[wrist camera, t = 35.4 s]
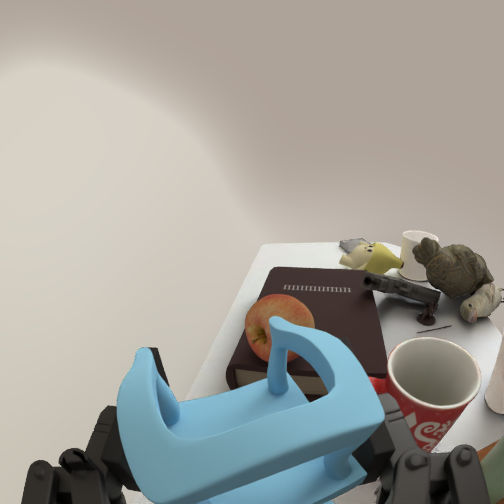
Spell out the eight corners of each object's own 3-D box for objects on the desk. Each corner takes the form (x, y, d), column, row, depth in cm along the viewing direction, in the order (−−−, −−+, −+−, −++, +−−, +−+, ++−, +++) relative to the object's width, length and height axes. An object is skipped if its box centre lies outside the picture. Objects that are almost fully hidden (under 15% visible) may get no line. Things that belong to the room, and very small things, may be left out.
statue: (466, 306, 56) (412, 308, 41) (452, 272, 61) (393, 258, 46) (502, 283, 48) (469, 274, 33) (486, 248, 53) (443, 221, 38)
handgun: (426, 311, 36) (357, 287, 44) (438, 306, 50) (389, 288, 58) (432, 292, 36) (363, 269, 44) (443, 292, 50) (393, 275, 58)
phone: (362, 242, 86) (362, 238, 85) (390, 262, 71) (391, 257, 70) (338, 245, 85) (338, 240, 84) (364, 266, 70) (364, 261, 69)
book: (268, 292, 61) (267, 266, 59) (363, 296, 56) (366, 270, 54) (228, 393, 35) (223, 361, 33) (378, 405, 31) (389, 373, 29)
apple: (331, 353, 32) (285, 378, 26) (281, 352, 37) (234, 370, 32) (321, 285, 32) (272, 296, 27) (271, 292, 38) (221, 302, 33)
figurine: (452, 326, 43) (457, 307, 41) (417, 333, 43) (422, 313, 41) (438, 311, 48) (443, 292, 46) (404, 316, 48) (409, 297, 46)
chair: (286, 432, 17) (290, 265, 12) (353, 527, 9) (454, 391, 5) (171, 465, 14) (99, 304, 10) (212, 579, 7) (92, 530, 2)
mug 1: (392, 266, 68) (396, 230, 65) (422, 264, 68) (427, 230, 64) (412, 288, 57) (419, 248, 54) (444, 285, 56) (452, 247, 53)
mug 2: (427, 421, 27) (467, 335, 22) (431, 481, 19) (493, 403, 14) (330, 418, 30) (346, 331, 26) (318, 481, 22) (339, 406, 18)
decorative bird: (471, 334, 40) (446, 316, 47) (510, 308, 43) (488, 294, 50) (479, 309, 38) (451, 292, 45) (517, 285, 41) (492, 273, 48)
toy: (345, 235, 72) (403, 230, 63) (350, 258, 75) (406, 255, 66) (331, 265, 62) (399, 261, 54) (338, 290, 65) (402, 289, 56)
